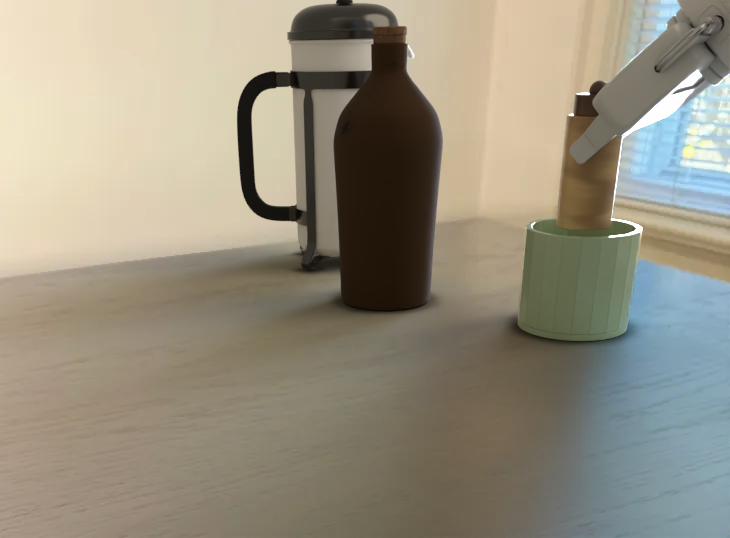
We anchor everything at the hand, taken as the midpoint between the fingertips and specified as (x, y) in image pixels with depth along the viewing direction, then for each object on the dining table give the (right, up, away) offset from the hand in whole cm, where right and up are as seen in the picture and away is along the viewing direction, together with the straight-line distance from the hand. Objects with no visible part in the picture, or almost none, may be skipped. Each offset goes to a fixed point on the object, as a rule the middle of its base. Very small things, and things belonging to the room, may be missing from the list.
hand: (584, 153), depth 77 cm
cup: (+1, -13, +7) cm, 15 cm away
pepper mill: (+1, -5, +3) cm, 6 cm away
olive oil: (-16, -8, +17) cm, 25 cm away
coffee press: (-21, +1, +33) cm, 39 cm away
